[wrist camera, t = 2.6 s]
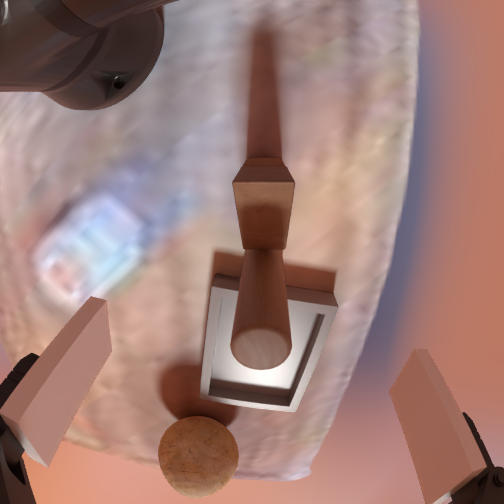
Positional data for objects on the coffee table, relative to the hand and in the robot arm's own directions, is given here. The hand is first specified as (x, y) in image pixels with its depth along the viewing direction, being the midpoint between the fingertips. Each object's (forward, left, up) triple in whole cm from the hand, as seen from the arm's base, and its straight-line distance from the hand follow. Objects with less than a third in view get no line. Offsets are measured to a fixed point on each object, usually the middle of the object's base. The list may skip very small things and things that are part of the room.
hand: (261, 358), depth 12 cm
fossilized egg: (+38, -3, -22) cm, 44 cm away
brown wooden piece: (0, 0, -22) cm, 22 cm away
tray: (+18, +3, -22) cm, 28 cm away
